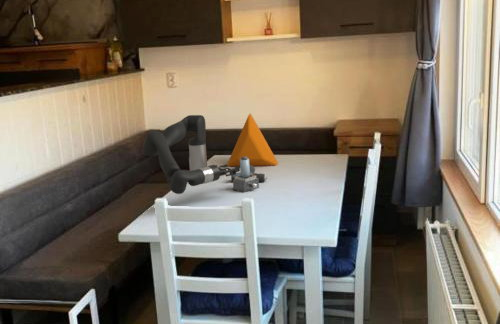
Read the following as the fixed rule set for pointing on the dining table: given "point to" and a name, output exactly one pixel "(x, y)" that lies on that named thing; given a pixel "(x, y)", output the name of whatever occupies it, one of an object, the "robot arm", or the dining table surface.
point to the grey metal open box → (245, 183)
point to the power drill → (261, 176)
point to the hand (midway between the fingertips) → (233, 167)
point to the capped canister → (244, 167)
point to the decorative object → (252, 147)
